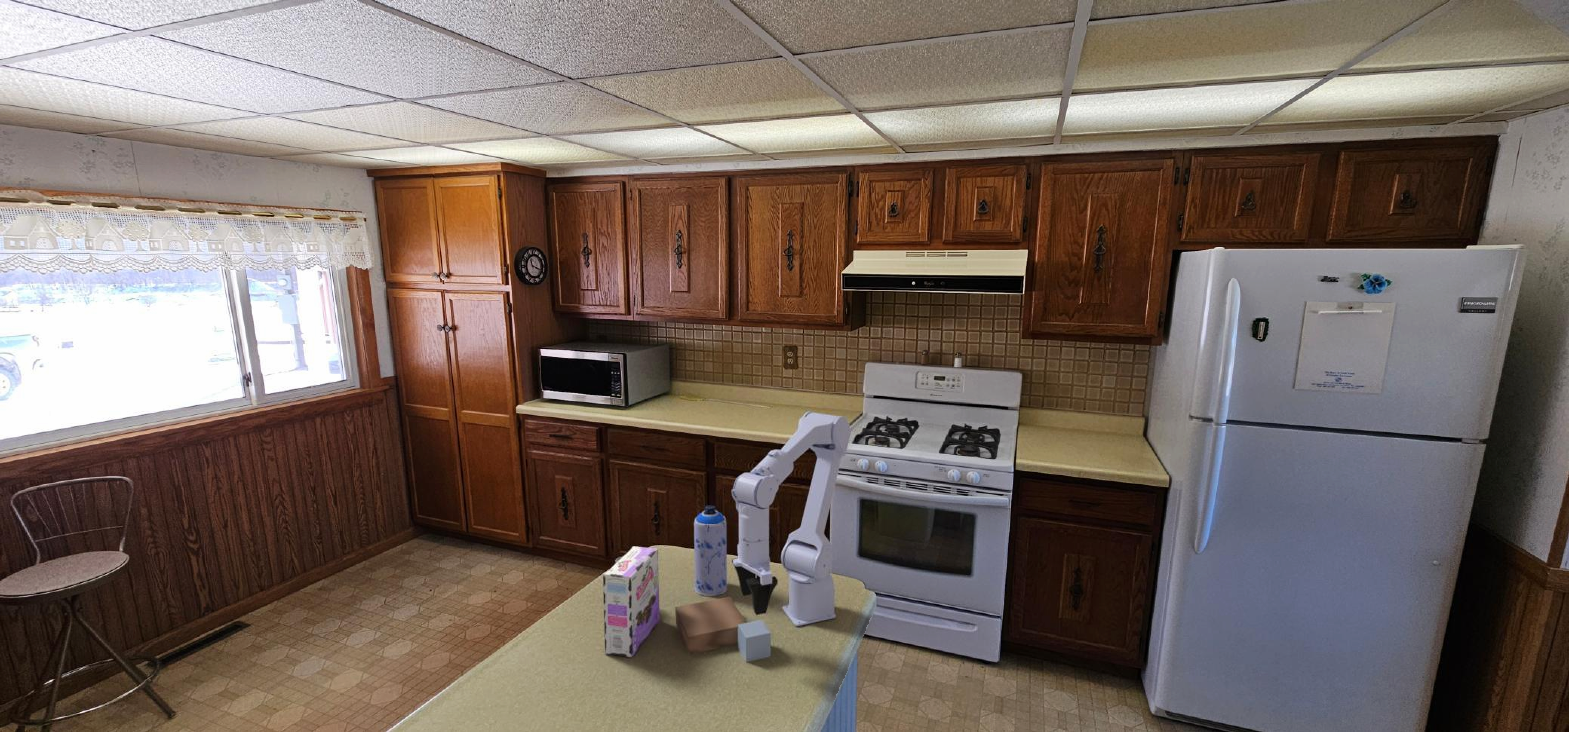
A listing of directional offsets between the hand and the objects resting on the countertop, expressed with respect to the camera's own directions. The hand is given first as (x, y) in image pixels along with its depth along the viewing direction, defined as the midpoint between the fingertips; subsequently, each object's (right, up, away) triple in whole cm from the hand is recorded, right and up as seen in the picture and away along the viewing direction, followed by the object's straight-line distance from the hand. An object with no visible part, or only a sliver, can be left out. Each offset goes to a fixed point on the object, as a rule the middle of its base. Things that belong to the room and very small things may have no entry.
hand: (753, 603), depth 119 cm
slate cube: (0, -10, +1) cm, 10 cm away
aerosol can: (-11, -7, +27) cm, 30 cm away
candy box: (-25, -9, +6) cm, 27 cm away
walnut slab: (-9, -10, +8) cm, 16 cm away
